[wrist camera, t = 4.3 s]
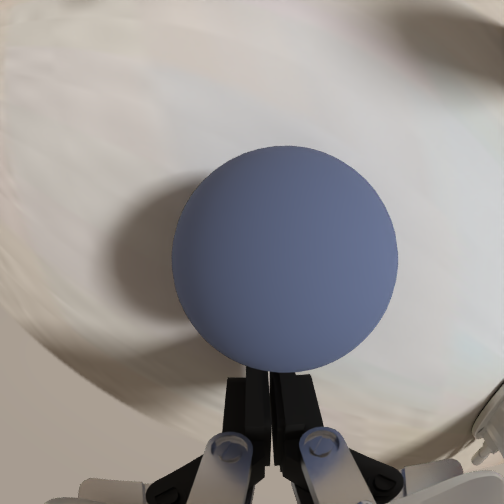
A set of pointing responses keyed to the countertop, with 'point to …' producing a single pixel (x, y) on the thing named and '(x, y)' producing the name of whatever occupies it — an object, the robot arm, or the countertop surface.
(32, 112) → the countertop surface
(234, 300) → the ball
